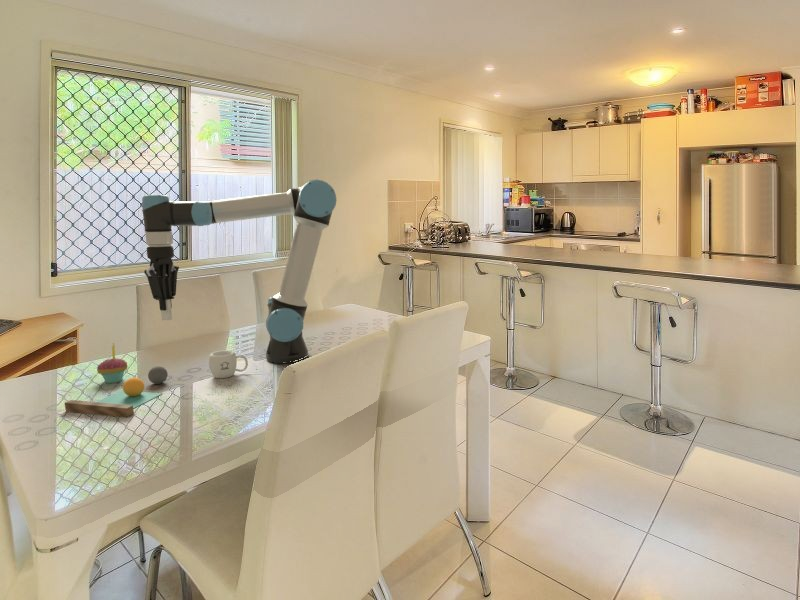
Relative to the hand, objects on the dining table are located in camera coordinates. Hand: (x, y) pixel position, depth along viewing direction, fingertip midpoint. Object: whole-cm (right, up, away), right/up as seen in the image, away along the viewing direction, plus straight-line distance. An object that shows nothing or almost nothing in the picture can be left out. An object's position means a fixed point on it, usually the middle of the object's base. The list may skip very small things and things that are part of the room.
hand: (167, 319), depth 154 cm
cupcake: (-18, -20, +1) cm, 27 cm away
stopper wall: (-6, -24, -24) cm, 35 cm away
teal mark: (-4, -23, -16) cm, 28 cm away
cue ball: (-2, -17, -2) cm, 18 cm away
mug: (+18, -19, +5) cm, 27 cm away
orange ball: (-3, -19, -13) cm, 23 cm away
